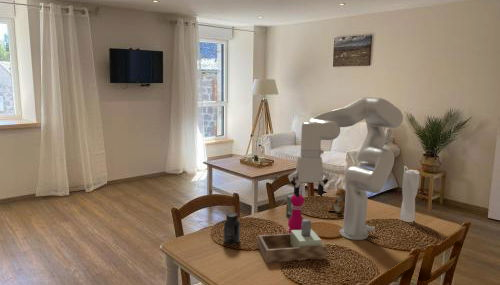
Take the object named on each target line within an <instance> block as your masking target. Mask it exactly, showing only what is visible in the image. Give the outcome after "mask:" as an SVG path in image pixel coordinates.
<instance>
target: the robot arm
mask: <svg viewBox="0 0 500 285" xmlns="http://www.w3.org/2000/svg"><path fill="white" fill-rule="evenodd" d="M364 120H365V123H366V124H365V125H366V130H367V131H366V132H367V133H366V137H365V140H364V141H363V143H362V146H361V147H360V150H359V152H358V154H357V157H356V158H357V159H356V160H357V163H359V164H360V165H361V166H358V165H352V166H349V167H348V168H347V169H346V170H345V172H344V184H345V186H344V187H345V190H346V197H345V210H344V215H343V223H342V224H343V225H342V226H343V227H342V228H340V229H339V231H338V232H340V233H339V235H340V234H341V235H340V236H341V237H343V238H346V239H348V240H353V241H362V240H366V239H368V237H369V232H373V231H374V232H375V231H376V227H375V226H370V225H369V224H366V221H367V208H368V206H367V205H368V195H367V192H369V193H372V194H377V193H378V194H379V193H380V192H381V191H382V190H383V189H384V186H385V185H386V183H387V180H388V178H389V176H390V174H391V172H392V170H393V167H394V164H395V154H394V152H393V151H392V150H391V149H389V148H386V147H385V148H384V145H385V144H386V140H387V139H386V133H385V131H384V129H383V128H389V129H396V128H399V127H400V126H401V125H402V124H403V120H404V115H403V113H402V111H401V110H400V109H399V108H398V107H397V106H395V104H393V103H391V102H390V101H388V100H387V99H386V98H385V99H384V98H382V97H369V96H366V97H361V98H358V99H357V100H354V101H353V102H351V103H350V104H347V105H346V106H344V107H340V108H336V109H332V110H329V111H325V112H322V113H320V114H317V115H315V116H314V117H312V118H310V119H309V120H308V121H304V122H302V124H301V133H300V134H301V136H300V137H301V139H300V140H301V141H300V155H298V157H297V162H296V167H295V171H294V172H292V173H290V174H288V176H287V178H288V180H289V182H290V183H291V185H293V194H294V195H295V196H296V197H299V192H300V185H301V184H302V183H304V184H306V183H307V184H308V183H318V185H317V195H319V197H323V194H324V187H325V186H326V184H327V183H328V182H329V180H330V178H331V174H329V173H328V172H326V171H324V166H323V164H324V163H323V159H322V156H321V155H323V154H324V150H322V149H321V147H322V146H321V145H322V143H321V142H322V140H323V141H333V140H336V139H337V138H339V136H340V134H341V128H347V127H348V128H349V127H353V126H355V125H357V124H359V123H360V122H361V121H364ZM363 166H364V167H363ZM324 176H325V177H324ZM293 178H295V181H294V179H293Z"/></svg>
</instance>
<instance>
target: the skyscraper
mask: <svg viewBox="0 0 500 285" xmlns="http://www.w3.org/2000/svg"><path fill="white" fill-rule="evenodd" d="M401 185H402V187H401V188H402V189H401V190H402V191H401V192H402V201H401V205H400V206H401V207H400V213H399V218H398V219H399V220H403V221H406V222H412V223H414V222H415V218H416V216H415V215H416V200H415V199H416V197H417V194H418V191H419V186H420V172H419V170H417V169H408V167H407V166H406V165H404V166H403V175H402V184H401ZM413 221H414V222H413Z"/></svg>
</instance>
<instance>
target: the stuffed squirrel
mask: <svg viewBox="0 0 500 285" xmlns="http://www.w3.org/2000/svg"><path fill="white" fill-rule="evenodd" d="M345 197H346V188H341V187H336V193H335V194H334V199H333V200H332V201H331V202H332V203H331V206H330V207H329V208H327V209H326V211H327V210H334V212H335V211H337V212H341V213H342V214H344V210H345ZM337 212H336V213H337ZM342 214H341V215H342Z"/></svg>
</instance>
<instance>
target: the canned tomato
mask: <svg viewBox="0 0 500 285" xmlns="http://www.w3.org/2000/svg"><path fill="white" fill-rule="evenodd" d="M292 195H294V193H288V194H287V195H286V209H285V210H286V212H285V213H286V214H285V216H286V218H288V219H290V217H291V215H292V208H291V205H292V203H291V197H292ZM302 211H303V208H302V209H301V216H302V215H303V214H302V213H303V212H302Z"/></svg>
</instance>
